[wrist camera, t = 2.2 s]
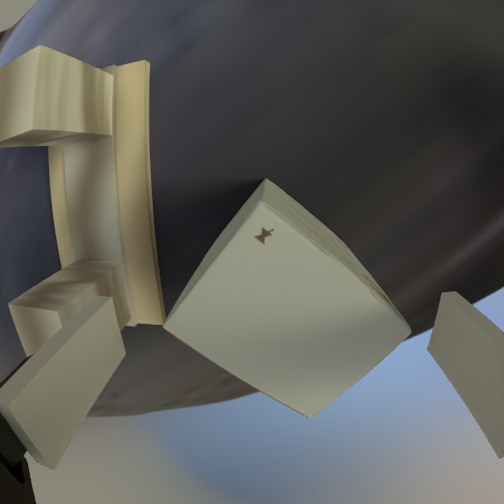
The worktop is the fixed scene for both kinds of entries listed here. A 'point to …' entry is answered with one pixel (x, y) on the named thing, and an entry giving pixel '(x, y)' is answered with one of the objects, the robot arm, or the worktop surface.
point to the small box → (286, 306)
